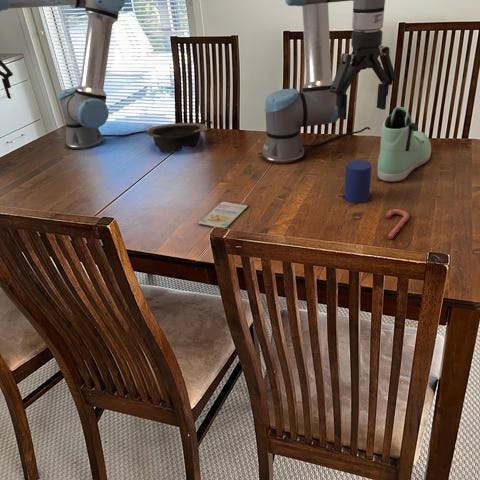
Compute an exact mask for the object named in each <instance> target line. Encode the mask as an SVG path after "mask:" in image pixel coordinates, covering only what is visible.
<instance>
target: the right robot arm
mask: <svg viewBox="0 0 480 480" xmlns="http://www.w3.org/2000/svg"><path fill="white" fill-rule="evenodd" d="M284 1H285V4H286V5H287V6H289V7H301V9H302V11H301V12H302V27H303V43H304V45H303V46H304V64H305V79H306V82H305V83H304V84H303V86H302V92H299V90H298V89H296V88H283V89H279V90H275V91H273V92H271V93H270V94H268V95H267V96H266V98H265V103H264V104H265V105H264V108H265V109H264V112H265V132H266V138H265V141H264V143H263V147H262V153H261V154H262V159H263V161H265V162H267V163H271V164H275V165H276V164H277V165H287V164H292V163H296V162H299V161H301V160H302V159H304V157H305V150H304V148H313V147H318V146H320V145H324V144H326V143H328V142H331V141H334V140H335V139H338V138H341V137H344V136H349V135H355V134H360V133H362V132H364V131H365V130H369V131H370V130H371V128H370V127H369V126H365V127H363V128H362V129H361V130H357V131H351V132H345V133H342V134H338V135H335V136H333V137H330V138H328V139H325V140H323V141H321V142H318V143H314V144H303V142H302V141H301V137H300V128H306V127H314V126H325V125H328V124H329V125H330V124H334V123H336V122H337V121H338V120H339V119H341V120H344V121H345V120H347V112H348V111H347V110H348V109H347V108H348V94H346V92H348V90H349V88H350V86H351V84H352V83H353V81H354V80H355V78H356V77H357V75H358V74H359V73H360V72H361V71H364V70H366V69H372V70H373V72H374V74H375V75H376V77H377V78H378V80H379V81H380V83H378V85H377V86H378V87H377V98H376V108H377V109H379V110H384V111H385V110H386V108H387V107H386V105H387V97H388V96H389V89H390V86H392V85H393V83H394V82H395V81H397V80H396V79H397V77H396V73H395V70H394V66H393V63H392V60H391V57H390V47H389V46H384V45H383V44H382V43H383V33H384V32H383V30H382V28H384V18H385V4H386V0H284ZM340 2H353V3H352V4H353V7H352V19H351V21H352V22H351V29H352V30H353V31H352V32H351V41H350V42H351V43H350V45H351V48H352V50H351V51H352V52H351V53H346V52H345V53H342V54H341V57H340V62H339V66H338V68H337V71H336V74H335V76H334V79H332V61H331V41H330V40H331V38H330V17H329V14H330V13H329V3H340ZM378 58H379V59H380V60H379V59H378Z"/></svg>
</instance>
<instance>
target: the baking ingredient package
mask: <svg viewBox="0 0 480 480" xmlns="http://www.w3.org/2000/svg"><path fill="white" fill-rule="evenodd" d="M248 206H249V205H246V204H240V203H236V202H235V203H234V202H229V201H221V202H220V203H219V204H218V205H216V206H215V207H214V208H213V209H212V210H211V211H210V212H209V213H208V214H206V215H205V216H204V217H203V218H202V219H201V220H199V222H198V225H199V224H200V225H204V226H208V227H214V228H215V227H216V228H220V227H226V228H227V227H228V226H229V225H230V224H231V223H233V221H234V220H236V218H237V217H239V215H241V214H242V213H243V211H245V209H247V207H248Z"/></svg>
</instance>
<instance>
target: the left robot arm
mask: <svg viewBox="0 0 480 480" xmlns="http://www.w3.org/2000/svg"><path fill="white" fill-rule="evenodd" d="M125 4H126V0H0V12H2V11H8V10H9V9H25V8H44V7H63V6H64V7H65V6H69V7H71V8H72V9H84V13H85V14H86V16H87V18H88V21H87V29H86V35H85V45H84V51H83V59H82V68H81V76H80V83H79V85H78V86H76V87H69V88H66V89H61V90H60V91H58V93H57V95H58V102H59V105H60V107H61V113H62V116H63V119H64V123H65V126H66V133H65V135H64V138H65V144H66V148H68V149H70V150H85V149H92V148H94V147H97V146H99V145H102V143H104V138H107V137H108V138H124V137H130V136H133V135H138V134H145V133H146V132H147V130H148V129H147V130H146V129H145V130H146V132H144V131H145V130H139V131H134V132H129V133H125V134H102V132H101V130H100V129H99V128H101V127H102V126H103V125H105V123H106V122H107V121H108V119H109V113H110V112H109V108H108V106H107V104H106V103H107V94H106V91H105V90H104V88H105V87H104V86H105V82H106V81H105V80H106V73H107V68H108V67H107V66H108V59H109V53H110V44H111V38H112V31H113V25H114V24H115V23H117V22H118V19H119V14H120V11H121V10H122V9H123V8H124V6H125ZM0 66H1V68H2V69H3V70H4V71H5V72H6V73H5V72H3V71H2V70H0V77H1V82H2V85H3V88H4V91H5V94H6V97H7V99H9V100H10V99H11V100H12V97H11V94H10V90H9V89H11V88H12V86H11V83H10V80H9V79H10V77H12V76H14V74H13V72H12V70H10V68H8V66H7V65H6V64H5V63H4V62H3V61H2V60H1V59H0ZM198 123H199V124H205V123H209V124H213V121H211V120H209V119H205V120H201V121H199V122H198ZM146 134H147V133H146Z"/></svg>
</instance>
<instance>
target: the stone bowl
mask: <svg viewBox="0 0 480 480" xmlns="http://www.w3.org/2000/svg"><path fill="white" fill-rule="evenodd" d="M207 130H208V127H207V124H204V123H202V124H199V122H178V123H176V122H175V123H168V124H161V125H156V126H152V127H150V128H149V129H147V132H146V129H145V130H143V131H144V132H146V134H147V135H149V136H150V137H152V138H153V142H154V145H155V146H156V147H157V148H158V150H159V152H161V153H165V154H168V153H169V154H170V153H178V152H180V151H182V150H183V148H190V149H194V148H196V147H197V146H198V145H199V143H200V138H201V132H205V131H207Z"/></svg>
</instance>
